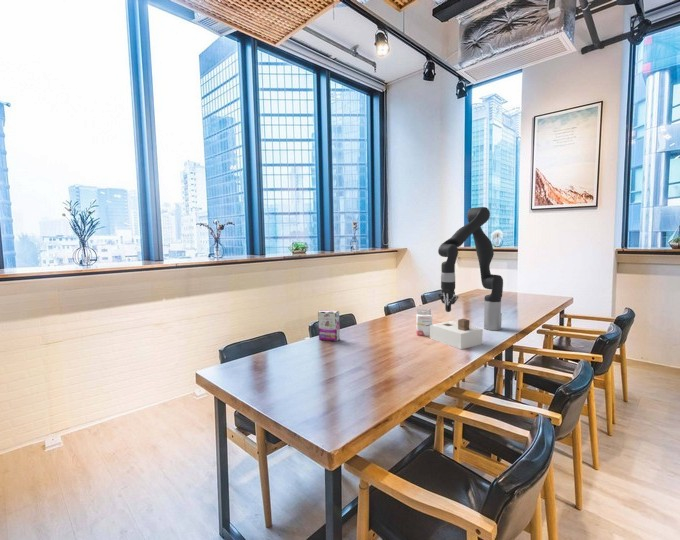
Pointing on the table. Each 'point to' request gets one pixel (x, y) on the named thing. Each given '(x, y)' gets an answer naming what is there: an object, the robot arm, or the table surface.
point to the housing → (456, 335)
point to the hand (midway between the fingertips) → (448, 311)
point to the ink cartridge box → (423, 322)
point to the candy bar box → (329, 325)
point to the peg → (463, 324)
